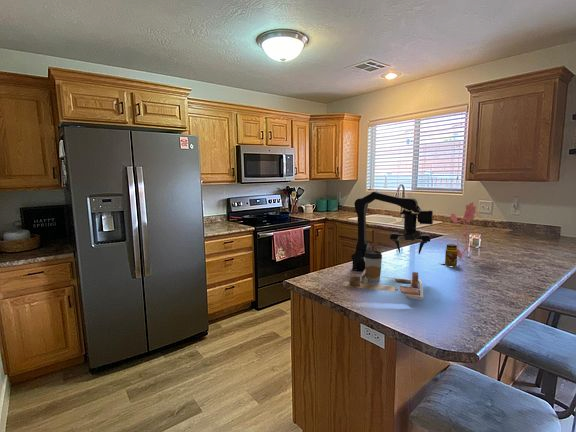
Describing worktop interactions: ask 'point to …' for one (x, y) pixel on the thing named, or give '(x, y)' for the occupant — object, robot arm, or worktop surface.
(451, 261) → the condiment
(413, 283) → the tan rectangular frame
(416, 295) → the lane tray
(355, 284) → the walnut cube
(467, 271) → the worktop surface
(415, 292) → the reddish brown block
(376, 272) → the coffee cup
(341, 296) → the worktop surface
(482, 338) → the worktop surface
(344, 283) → the tan long flat piece
